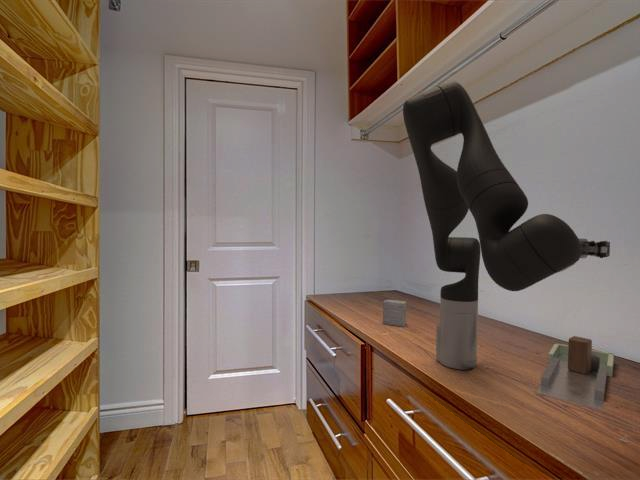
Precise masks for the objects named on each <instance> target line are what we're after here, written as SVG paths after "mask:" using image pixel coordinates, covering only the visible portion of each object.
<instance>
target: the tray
mask: <svg viewBox="0 0 640 480" xmlns="http://www.w3.org/2000/svg"><path fill="white" fill-rule="evenodd" d="M558 354H564V355H568V344H562V343H558V342H557V343H556V342H555V343H554V344H553V346H552V347H551V349H550V351H549V352H548V354H547V357H548V358H547V360H548V361H547V363H548V364H549V363H550V361H551V359H552V358H553V357H554V358H556V357H557V355H558ZM614 354H615V353H613V352H608V351H607V352H606V351H600V350H595V349H592V354H591V355H595V356H598V357H599V358H600V362H605V363H607V377H610V378H611V377H613V373H614V361H615V360H614V359H615V358H614V357H615V355H614Z"/></svg>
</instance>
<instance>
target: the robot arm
mask: <svg viewBox="0 0 640 480" xmlns="http://www.w3.org/2000/svg"><path fill="white" fill-rule="evenodd" d="M469 95H470V94H469V93H468V92H467V90H466V89H465V88H464V86H463V85H462V84H460V83H459V82H457V81H448V82H444V83H441V84H438V85H437V86H436V85H435V87H432V88H429V89H428V90H424V91H422V92H420V93H418V94H415V95H413V96H411V97H409V98H408V99H406V100H405V101H404V103H403V107H402V115H403V122H404V126H405V129H406V134H407V136H408V140H409V143H410V146H411V150H412V153H413V157H414V159H415V164H416V166H417V170H418V175H419V179H420V180H419V181H420V186H421V190H422V196H423V202H424V205H425V209H426V213H427V214H426V215H427V216H428V220H429V225H430V229H431V235H432V241H433V250H434V251H433V252H434V257H435V262H436V265H437V268H438V269H439V270H440V271H442V272H445V273H446V272H447V273H460V274H461V273H463V274H465V275H464V277H463V278H462V279H460V280H459V281H457V282H454V283H449V284H446V285H445V284H444V285H443V286H441V288H440V293H439V294H440V295H439V296H440V302H439V303H440V304H439V305H440V307H439V308H440V309H439V324H437V325H436V331H435V332H436V336H435V337H436V339H435V361H438V362H439V363H440V364H441V365H442V366H445V367H447V368H450V369H455V370H461V371H462V370H467V371H469V370H473V369H475V367H477V366H478V365H477V363H478V362H477V361H478V357H477V356H478V329H479V328H478V327H479V326H478V325H479V324H478V323H479V321H478V319H479V318H478V317H479V275H480V263H481V258H482V262H483V265H484V267H485V270H486V271H487V274H488V276H489V277H490V278H491V280H492V281H493V282H494V284H496V285H498V286H499V287H500V288H502V289H504V290H507V291H509V292H519V291H523V290H526V289H527V288H529V287H531V286H533V285H535V284H537V283H539V282H541V281H543V280H545V279H547V278H549V277H550V276H553V275H554V274H558V273H562V272H564V271H566V270H568V269H569V268H571V267H572V266H573V265H575V264H576V263H577V262H578V261H579V260H581V259H586V258H587V257H588V256H590V257H596V258H599V259H604V258H608V257H610V256H611V255H610V252H611V242H610V241H608V240H603V241H602V240H601V241H595V240H590V241H588V239H587V238H579V237H578V235H577V234H576V233H575V231H574V230H573V228H571V226H570V225H569V224H568V223H566V222H565V221H564V220H563V219H561V218H560V217H558V216H555V215H554V214H548V213H541V214H538V215H535V216H533V217H531V218H529V219H527V220H526V221H524V222H522V223H521V224H519V225H517V226H516V227H514V225H515V224H516V223H517V222H519V220H520V219H521V218H522V217H523V216H524V214H525V213H526V212H527V210H528V207H529V200H528V197H527V195H526V193H525V192H524V190H523V189H522V188H521V187H520V185H519V183H517V180H515V178H514V177H513V176H512V173H511V172H510V171H509V170H508V169H507V167H506V166H505V164H504V163H503V161H502V160H501V158H500V157H499V155H498V152H497V151H496V150H495V148H494V145H493V143H492V141H491V139H490V136H489V134H488V132H487V130H486V128H485V125H484V123H483V121H482V118H481V117H480V116H479V113H478V111H477V108H476V106H475V105H474V103H473V101H472V99H471V97H470V96H469ZM459 134H462V138H463V143H462V150H461V153H460V156H459V160H458V165H457V169H455V168H452V166H450V165H448V164H447V163H445V162H444V161H443V160H442V159H441V158H439V157H438V156H437V155H436V154H435V153H434V151H433V150H432V146H433V145H434V144H436V143H440V142H442V141H444V140H447V139H449V138H452V137H455V136H458V135H459ZM469 211H470V213H471V215H472V217H473V219H474V222H475V225H476V229H477V234H478V239H477V238H476V237H459V236H458V237H457V236H456V237H453V236H451V237H450V235H451V234H452V233H453V231H455V229H457V227H458V226H459V225H460V224H461V223H462V222H463V220H464V219H465V217H467V214H468V212H469ZM513 227H514V228H513Z"/></svg>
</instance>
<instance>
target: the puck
mask: <svg viewBox="0 0 640 480" xmlns="http://www.w3.org/2000/svg"><path fill="white" fill-rule="evenodd" d="M599 365H600V358H599V357H598V356H595V355H591V371H598V369H599Z"/></svg>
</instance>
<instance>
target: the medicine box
mask: <svg viewBox="0 0 640 480" xmlns="http://www.w3.org/2000/svg"><path fill="white" fill-rule="evenodd" d="M407 318H408V317H407V301H404V300H403V301H401V300H395V299H386V300H384V301H382V324H383V325H389V326H396V327H402V328H403V327H405V326H406V325H407V323H408V322H407Z"/></svg>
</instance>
